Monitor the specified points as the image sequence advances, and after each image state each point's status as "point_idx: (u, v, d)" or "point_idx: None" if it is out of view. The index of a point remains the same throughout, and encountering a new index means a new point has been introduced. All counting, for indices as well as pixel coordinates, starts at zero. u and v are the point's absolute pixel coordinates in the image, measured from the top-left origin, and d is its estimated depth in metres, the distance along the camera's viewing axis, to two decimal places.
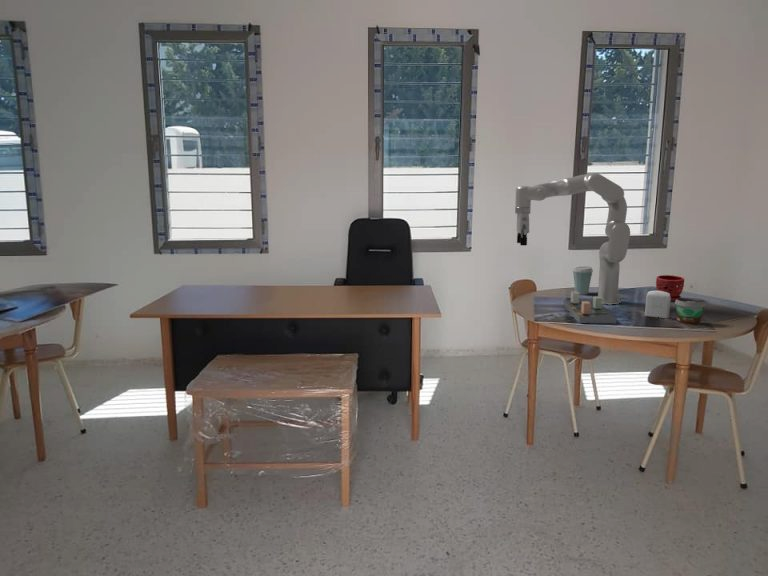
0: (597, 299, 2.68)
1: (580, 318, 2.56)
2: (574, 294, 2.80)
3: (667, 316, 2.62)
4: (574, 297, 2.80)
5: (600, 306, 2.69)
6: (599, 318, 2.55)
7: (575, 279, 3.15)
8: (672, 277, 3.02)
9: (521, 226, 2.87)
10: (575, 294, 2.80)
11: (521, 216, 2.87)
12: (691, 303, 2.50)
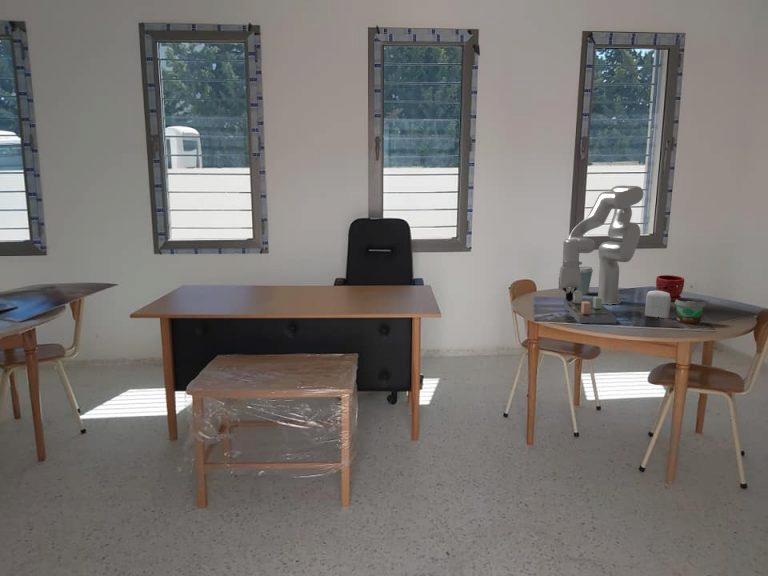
0: (597, 299, 2.68)
1: (580, 318, 2.56)
2: (577, 294, 2.80)
3: (667, 316, 2.62)
4: (577, 297, 2.80)
5: (600, 306, 2.69)
6: (599, 318, 2.55)
7: None
8: (672, 277, 3.02)
9: None
10: (578, 294, 2.80)
11: None
12: (691, 303, 2.50)
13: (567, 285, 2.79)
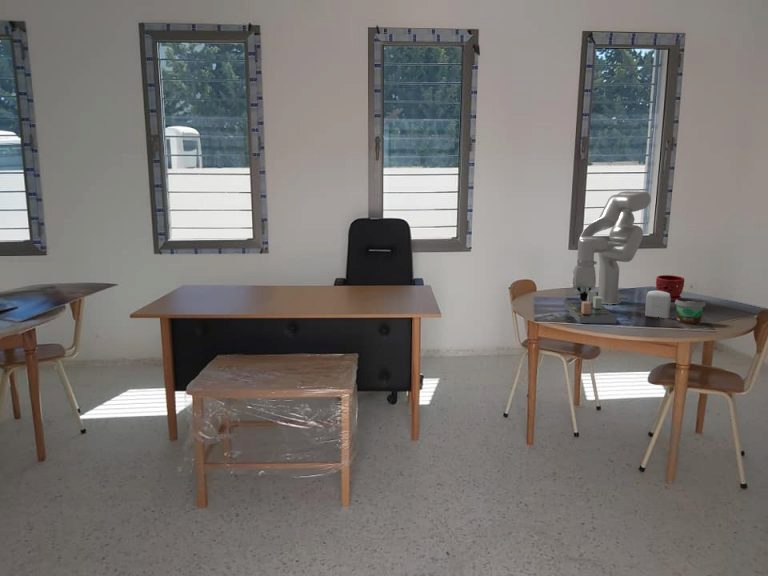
0: (597, 299, 2.68)
1: (580, 318, 2.56)
2: (591, 294, 2.79)
3: (667, 316, 2.62)
4: (591, 297, 2.79)
5: (600, 306, 2.69)
6: (599, 318, 2.55)
7: None
8: (672, 277, 3.02)
9: (595, 279, 2.78)
10: (592, 294, 2.79)
11: (594, 269, 2.77)
12: (691, 303, 2.50)
13: (582, 285, 2.79)
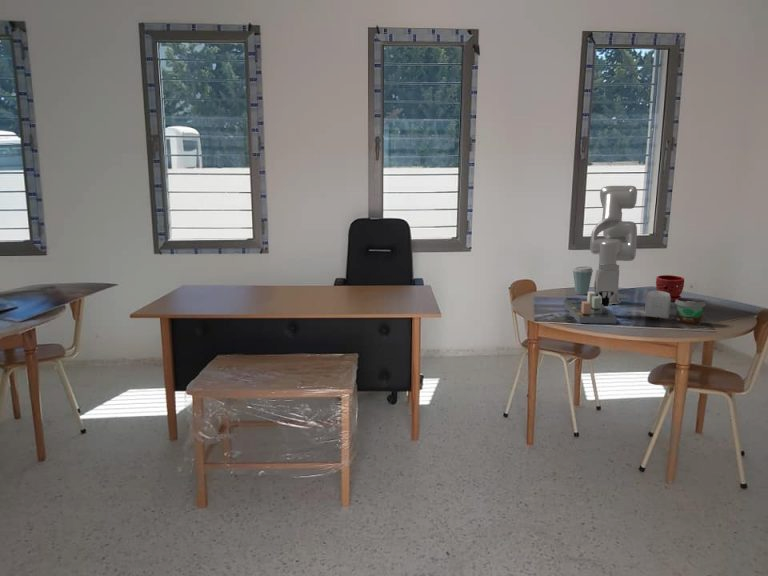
0: (596, 299, 2.68)
1: (580, 318, 2.56)
2: (591, 294, 2.79)
3: (667, 316, 2.62)
4: (591, 297, 2.79)
5: (599, 306, 2.69)
6: (599, 318, 2.55)
7: (575, 279, 3.15)
8: (672, 277, 3.02)
9: (618, 283, 2.67)
10: (592, 294, 2.79)
11: (617, 273, 2.66)
12: (691, 303, 2.50)
13: (604, 289, 2.67)
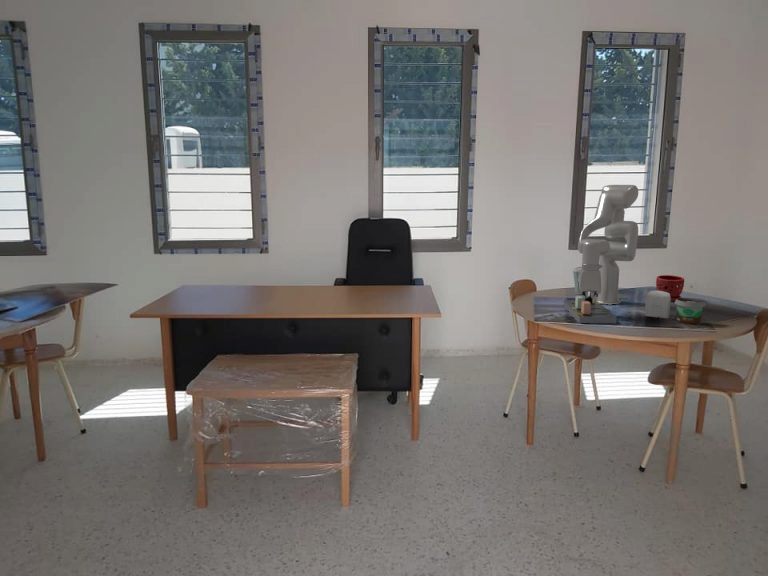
0: (579, 299, 2.69)
1: (580, 318, 2.56)
2: None
3: (667, 316, 2.62)
4: None
5: None
6: (599, 318, 2.55)
7: (575, 279, 3.15)
8: (672, 277, 3.02)
9: (601, 283, 2.68)
10: None
11: (600, 273, 2.67)
12: (691, 303, 2.50)
13: (587, 289, 2.68)
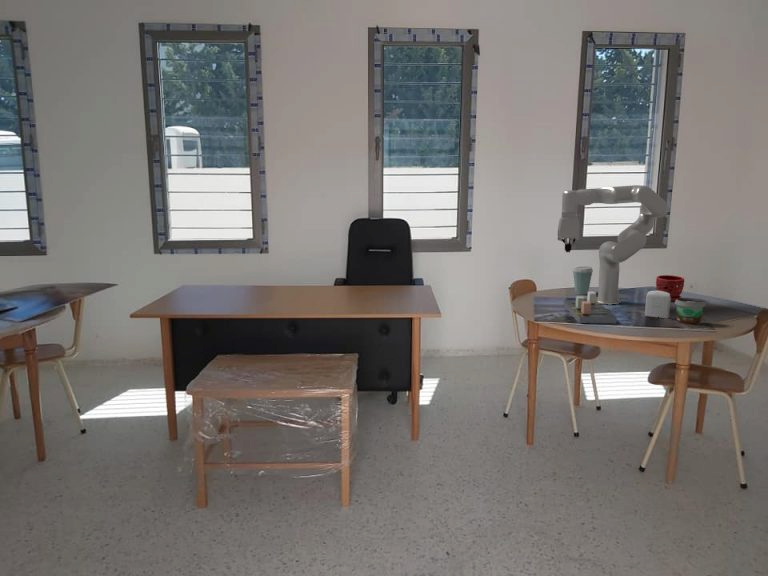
0: (579, 299, 2.69)
1: (580, 318, 2.56)
2: (591, 294, 2.79)
3: (667, 316, 2.62)
4: (591, 297, 2.79)
5: None
6: (599, 318, 2.55)
7: (575, 279, 3.15)
8: (672, 277, 3.02)
9: (579, 230, 2.85)
10: (592, 294, 2.79)
11: (578, 220, 2.84)
12: (691, 303, 2.50)
13: (566, 236, 2.86)
